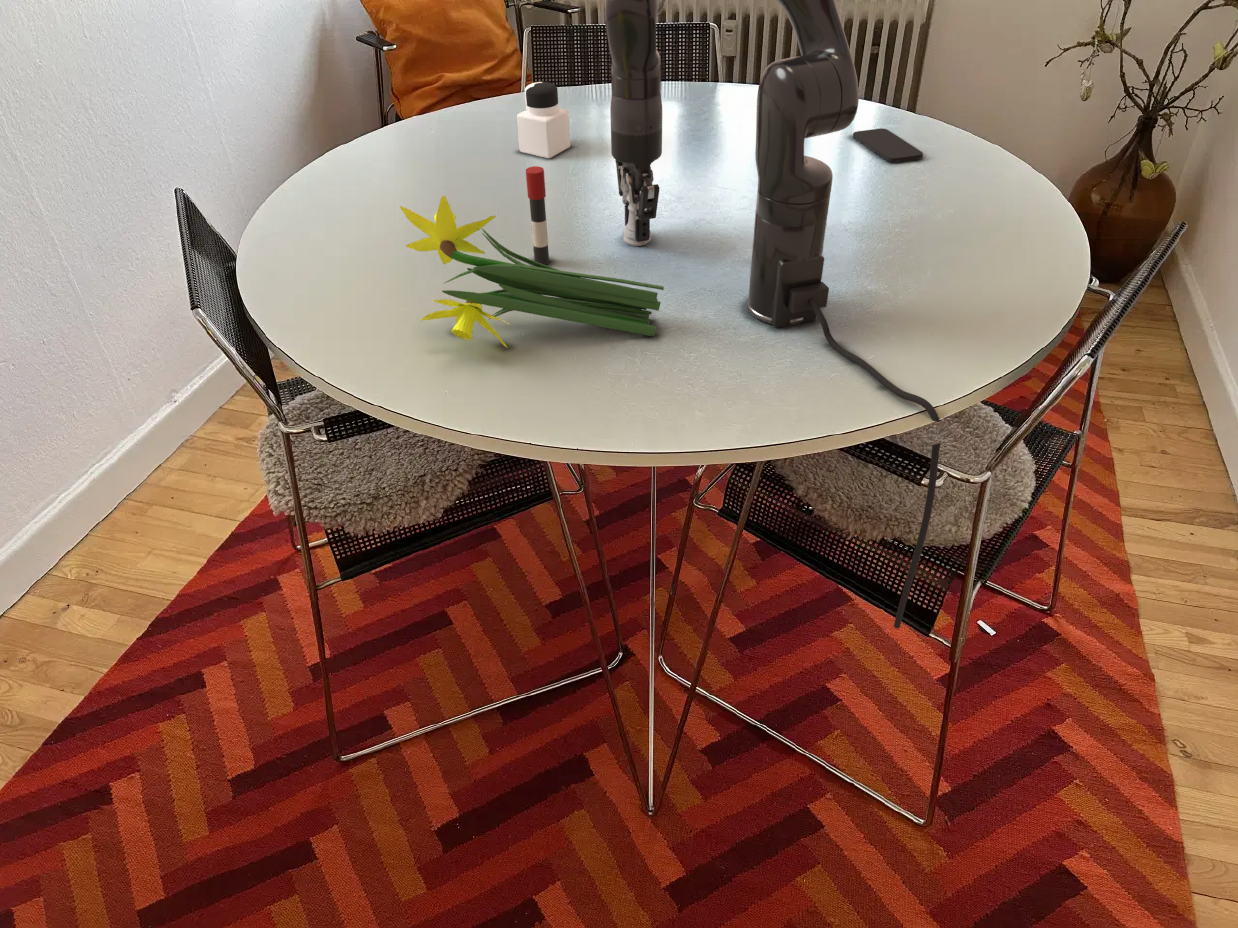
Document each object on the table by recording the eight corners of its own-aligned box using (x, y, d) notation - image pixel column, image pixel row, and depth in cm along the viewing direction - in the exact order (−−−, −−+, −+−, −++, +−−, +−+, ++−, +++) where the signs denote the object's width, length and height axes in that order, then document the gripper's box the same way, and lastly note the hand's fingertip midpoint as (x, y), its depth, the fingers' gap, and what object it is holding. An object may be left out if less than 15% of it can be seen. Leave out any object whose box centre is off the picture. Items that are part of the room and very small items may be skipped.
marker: (552, 264, 138) (545, 171, 129) (535, 267, 138) (527, 174, 129) (548, 257, 140) (541, 165, 131) (531, 260, 140) (523, 167, 131)
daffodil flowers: (657, 375, 117) (378, 324, 109) (634, 371, 131) (385, 326, 123) (681, 242, 115) (399, 182, 108) (655, 253, 129) (404, 200, 122)
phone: (885, 127, 178) (926, 154, 167) (884, 132, 179) (925, 158, 168) (850, 132, 177) (889, 159, 166) (850, 136, 177) (889, 163, 166)
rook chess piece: (657, 240, 144) (657, 191, 139) (638, 249, 142) (637, 200, 137) (636, 232, 147) (635, 184, 142) (617, 241, 144) (616, 192, 139)
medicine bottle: (571, 147, 176) (567, 82, 168) (549, 159, 171) (545, 93, 164) (541, 140, 179) (536, 77, 171) (519, 152, 174) (513, 87, 167)
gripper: (678, 137, 128) (675, 249, 139) (644, 105, 139) (644, 212, 150) (627, 144, 126) (628, 257, 137) (597, 111, 137) (601, 219, 148)
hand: (637, 233), depth 143 cm, fingers closed on rook chess piece, 4 cm apart
